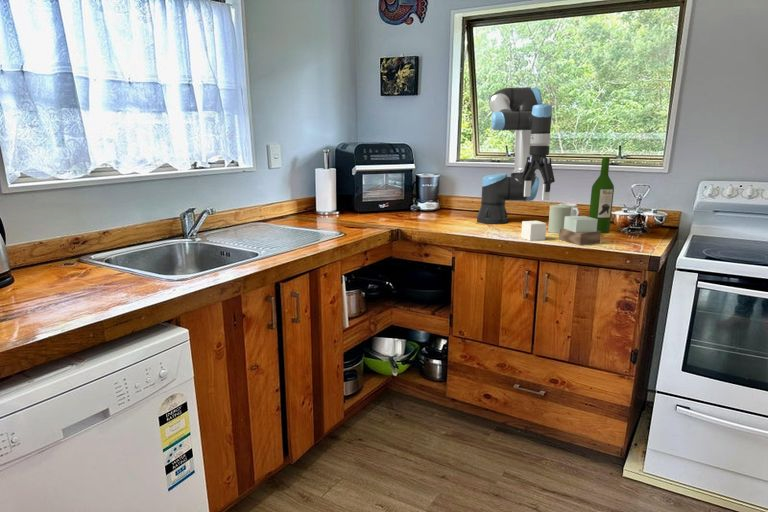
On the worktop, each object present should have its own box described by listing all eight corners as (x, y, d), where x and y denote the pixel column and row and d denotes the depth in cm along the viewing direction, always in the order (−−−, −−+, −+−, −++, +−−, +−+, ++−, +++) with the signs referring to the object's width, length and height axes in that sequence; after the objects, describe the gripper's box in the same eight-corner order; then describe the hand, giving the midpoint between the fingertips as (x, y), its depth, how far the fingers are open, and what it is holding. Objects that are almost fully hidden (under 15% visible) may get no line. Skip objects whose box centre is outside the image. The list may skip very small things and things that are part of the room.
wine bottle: (594, 233, 214) (602, 158, 207) (583, 230, 223) (590, 157, 215) (613, 233, 216) (622, 157, 208) (601, 229, 224) (609, 156, 216)
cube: (521, 237, 208) (522, 221, 206) (535, 236, 210) (536, 220, 208) (530, 241, 201) (531, 224, 200) (545, 240, 203) (546, 223, 201)
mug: (570, 228, 228) (572, 207, 225) (553, 223, 239) (555, 203, 236) (584, 227, 230) (586, 206, 228) (567, 222, 241) (569, 202, 239)
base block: (559, 240, 203) (560, 229, 201) (578, 238, 207) (579, 226, 206) (580, 246, 193) (581, 233, 192) (599, 243, 198) (601, 231, 197)
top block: (563, 228, 203) (564, 216, 201) (583, 227, 204) (584, 215, 203) (575, 232, 194) (576, 220, 193) (596, 231, 196) (597, 219, 194)
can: (570, 234, 214) (573, 206, 212) (548, 233, 216) (550, 206, 213) (567, 230, 223) (569, 203, 220) (546, 229, 225) (548, 203, 222)
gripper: (515, 144, 207) (512, 195, 212) (549, 145, 184) (545, 202, 188) (531, 144, 209) (527, 194, 214) (567, 145, 185) (562, 201, 190)
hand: (535, 198), depth 201 cm, fingers open, 13 cm apart
